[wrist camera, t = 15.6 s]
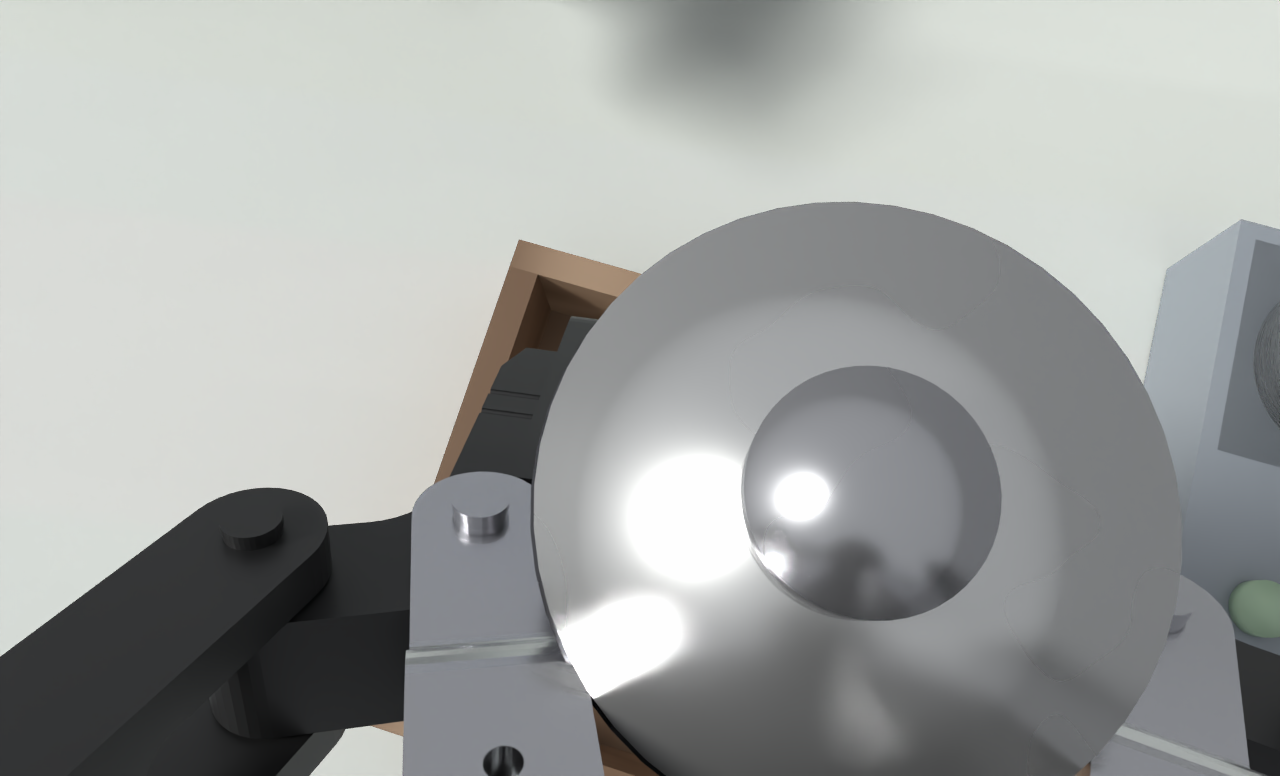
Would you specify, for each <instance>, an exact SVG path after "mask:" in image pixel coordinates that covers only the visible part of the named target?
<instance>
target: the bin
mask: <svg viewBox="0 0 1280 776" xmlns="http://www.w3.org/2000/svg"><path fill="white" fill-rule="evenodd" d="M640 275H641V274H639V273H636V272H632V271H629V270H625V269H622V268H618V267H615V266H611V265H608V264H604V263H600V262H597V261H593V260H590V259H586V258H583V257H579V256H576V255H572V254H569V253H565V252H561V251H558V250H554V249H551V248H547V247H544V246H540V245H537V244H533V243H530V242H526V241H522V240H519V241H518V244H517V247H516V250H515V253H514V256H513V258H512V261H511V264H510V267H509V270H508V273H507V276H506V278H505V281H504V284H503V287H502V290H501V293H500V296H499V299H498V301H497V304H496V307H495V310H494V313H493V316H492V319H491V322H490V324H489V327H488V330H487V333H486V336H485V339H484V342H483V345H482V347H481V350H480V353H479V356H478V359H477V362H476V365H475V368H474V370H473V373H472V376H471V379H470V382H469V385H468V388H467V391H466V393H465V396H464V399H463V402H462V405H461V408H460V411H459V413H458V416H457V419H456V422H455V425H454V428H453V431H452V434H451V436H450V439H449V442H448V445H447V448H446V451H445V454H444V457H443V459H442V462H441V465H440V468H439V471H438V474H437V477H436V480H435V482H434V484H435V483H437V482H439V481H441V480H443V479H445V478H448V477H450V474H451V472H452V470H453V468H454V466H455V464H456V462H457V459H458V457H459V455H460V453H461V451H462V449H463V447H464V445H465V442H466V440H467V438H468V436H469V434H470V432H471V430H472V427H473V425H474V423H475V421H476V419H477V417H478V415H479V413H481V410H482V406H483V404H484V402H485V400H486V397H487V395H488V393H489V394H490V389H491V387H492V385H493V382H494V380H495V378H496V376H497V374H498V372H499V370H500V368H501V366H502V365H503V364H505V363H506V362H507V361H509V360H510V359H511V358H513V357H514V356H516V355H517V354H518V353H520V352H521V351H523V350H524V349H525V348H533V349H540V350H548V351H556V352H557V351H558V348H559V346H560V343H561V340H562V338H563V335H564V332H565V330H566V327H567V325H568V322H569V320H570V318H571V316H575V317H583V318H590V319H599V318H600V317H601V315H602V314H603V313H604V312H605V310H606V309H607V308H608V307H609V306H610V304H611V303H612V302H613V301H614V300H615V299H616V298H617V297H618V296H619V295H620V294H621V293H622V292H623V291H624V290H625V289H626V288H627V287H629V286H630V285H631V284H632V283H633V282H634V281H635V280H636V279H637V278H638V277H639V276H640ZM592 707H593V705H592ZM593 713H594V719H595V724H596V730H597V736H598V742H599V747H600V753H601V759H602V764H603V770H604V776H659V775H658V774H656V773H655V772H654V771H653V770H651V769H650V768H649V767H648V766H646V765H645V764H644V763H643V762H641V761H640V760H639V759H638V758H637V756H636V755H635V754H634V753H633V752H632V751H631V750H630V749H629V748H628V747H627V746H626V745H625V744H624V743H623V742H622V741H621V740H620V739H619V738H618V737H617V736H616V735H615V734H614V733H613V732H612V731H611V730H610V728H609V727H608V726H607V724H606V723H605V722H604V720H603V719H602V718H601V716H600V715H599V713H598V712H597V711H596V709H595V708H594V707H593ZM371 726H373V727H376V728H379V729H382V730H385V731H388V732H391V733H394V734H397V735H400V736H403V732H404V721H401V722H393V723H386V724H378V725H371Z"/></svg>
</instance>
